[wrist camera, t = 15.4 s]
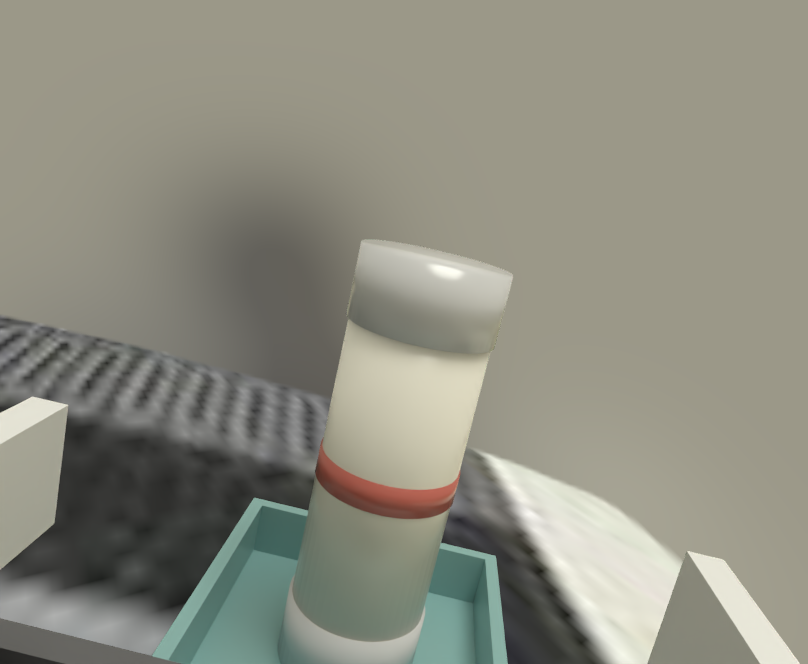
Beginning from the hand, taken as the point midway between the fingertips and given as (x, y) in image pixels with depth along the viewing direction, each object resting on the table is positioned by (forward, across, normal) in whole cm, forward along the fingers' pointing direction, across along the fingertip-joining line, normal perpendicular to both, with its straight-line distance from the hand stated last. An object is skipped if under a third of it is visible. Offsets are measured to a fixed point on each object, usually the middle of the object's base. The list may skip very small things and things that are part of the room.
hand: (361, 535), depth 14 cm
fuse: (+9, 0, -10) cm, 14 cm away
